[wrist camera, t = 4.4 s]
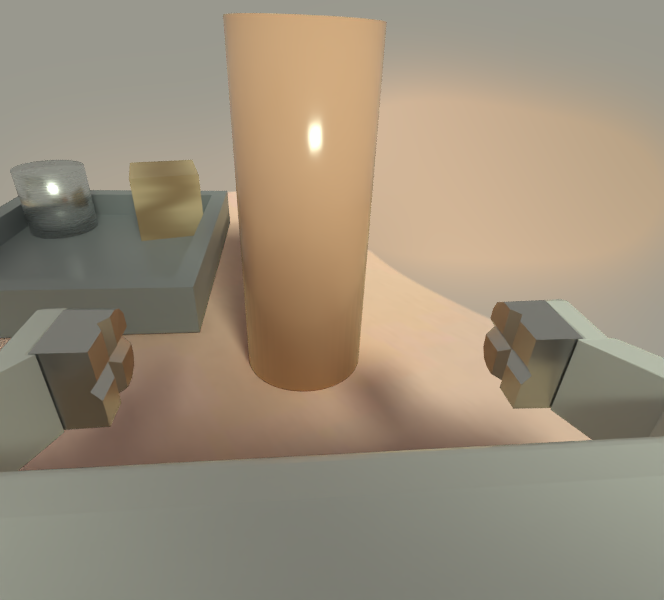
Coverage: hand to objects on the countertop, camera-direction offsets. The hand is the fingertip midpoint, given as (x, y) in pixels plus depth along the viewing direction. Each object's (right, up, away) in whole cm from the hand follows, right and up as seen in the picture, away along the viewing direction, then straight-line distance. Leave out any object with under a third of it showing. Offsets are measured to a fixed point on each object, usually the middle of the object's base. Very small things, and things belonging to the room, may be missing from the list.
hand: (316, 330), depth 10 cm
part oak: (-11, +6, +21) cm, 24 cm away
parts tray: (-14, +3, +17) cm, 22 cm away
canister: (-1, -2, +10) cm, 11 cm away
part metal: (-18, +6, +20) cm, 27 cm away
